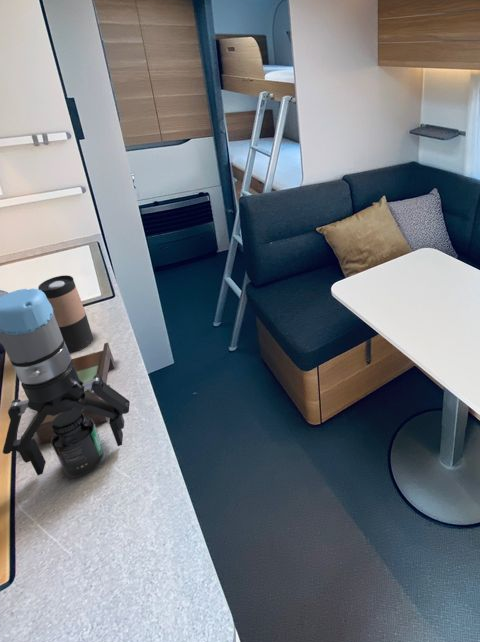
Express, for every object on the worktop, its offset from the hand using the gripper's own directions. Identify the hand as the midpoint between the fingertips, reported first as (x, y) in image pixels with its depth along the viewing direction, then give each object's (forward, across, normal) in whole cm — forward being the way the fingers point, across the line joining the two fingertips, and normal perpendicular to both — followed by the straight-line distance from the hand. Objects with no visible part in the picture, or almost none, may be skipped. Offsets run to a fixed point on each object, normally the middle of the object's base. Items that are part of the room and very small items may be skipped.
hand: (82, 454), depth 81 cm
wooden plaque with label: (+2, -3, +19) cm, 19 cm away
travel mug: (+2, -7, +43) cm, 44 cm away
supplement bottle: (+2, 0, 0) cm, 2 cm away
